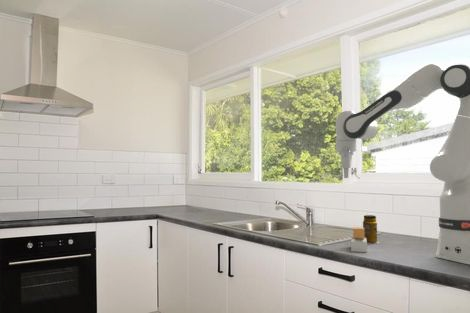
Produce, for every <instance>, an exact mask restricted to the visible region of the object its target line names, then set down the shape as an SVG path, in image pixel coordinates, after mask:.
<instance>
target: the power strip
mask: <svg viewBox="0 0 470 313" xmlns="http://www.w3.org/2000/svg"><path fill="white" fill-rule="evenodd" d="M350 239H351V240H350V243H351V244H350V246H351V247H350V250H351V252H357V253H359V252H360V253H368V244H367V239H366V238H364V239H358V238H353V236H351V238H350Z"/></svg>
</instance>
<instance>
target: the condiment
mask: <svg viewBox="0 0 470 313" xmlns="http://www.w3.org/2000/svg"><path fill="white" fill-rule="evenodd" d="M362 228H364V238H366V239H367V245H368V244H380V243H382V242H381V241H378V222H377V216H376V215H372V214H370V215H369V214H365V215H363V221H362Z"/></svg>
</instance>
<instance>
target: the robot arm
mask: <svg viewBox="0 0 470 313" xmlns="http://www.w3.org/2000/svg"><path fill="white" fill-rule="evenodd" d="M440 90H443V91H444V92H446V93H447V94H448V95H449V96H453V97H456V98H458V100H459V106H458V108H457V112H456V115H455V118H454V119H453V120H454V121H453V123H452V126H451V129H450V131H449V134H448V135H447V138H446V139H445V142H444V143H443V144H442V146H441V149H440V150H439V151H438V154H437V155H436V156H435V157H433V159H432V160H431V161H430V164H429V170H430V173H431V175H432V176H433V177H434V178H435V179H437V180H439V181H442V182H444V185H443V189H442V191H441V194H440V196H439V217H438V227H439V234H438V239H437V240H438V241H437V247H436V248H437V249H436V253H435V257H436V258H439V259H443V260H447V261H451V262H456V263H461V264H465V265H470V66H468V65H466V64H464V63H454V64H452V65H450V66H448V67H446V68H445V69H444V68H442V67H441V66H440V65H438V64H436V63H433V62H429V63H427V64H424V65H423V66H421V67H419V68H418V69H417V70H415V71H414V72H412V73H411V74H409V75H408V76H406V78H405V79H403V80H402V81H401V82H399V83H398V84H397V85H396V86H394V88H392V89H391V90H389V91H388V92H387V93H385V94H384V95H382V96H381V97H379V98H378V99H377V100H375V101H373V102H372V103H371V104H370V105H368V106H367V107H365V108H364V109H363V110H361V111H359V112H354V111H352V110H347V111H342V112H339V113H338V114H337V116H336V121H335V133H336V134H335V135H336V138H335V152H337V153H338V155H339V156H340V166H341V168H342V169H343V178H344V179H348V178H349V172H350V170H349V169H351V167H352V158H353V155H354V152H356V151H357V139H359V140H371V139H373V138H375V137H376V135H377V134H378V132H379V125H378V123H377V122H376V121H377V120H378V119H379V118H381V117H383V116H384V115H386V114H387V113H389V112H391V111H394V110H398V109H408V108H412V107H414V106H416V105H418V104H419V103H421V102H423V101H424V100H425V99H426V98H428V97H429V96H430V95H432V94H433V93H435V92H437V91H440Z"/></svg>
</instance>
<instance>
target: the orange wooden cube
mask: <svg viewBox="0 0 470 313" xmlns="http://www.w3.org/2000/svg"><path fill="white" fill-rule="evenodd" d="M352 232H353V233H352V234H353V235H352V237H353V238H358V239H364V228H363V227H358V226H357V227H355V226H353V229H352Z"/></svg>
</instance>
